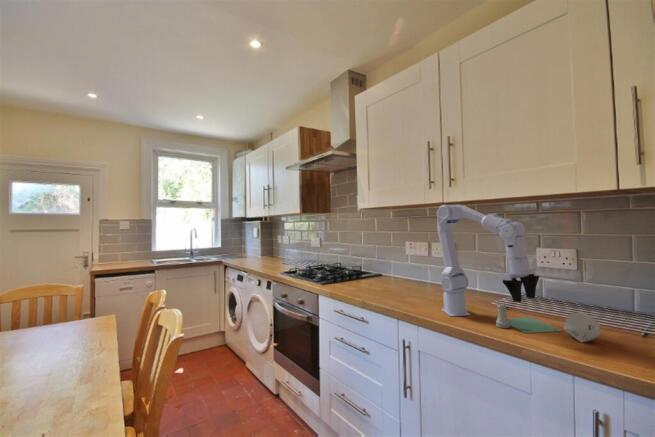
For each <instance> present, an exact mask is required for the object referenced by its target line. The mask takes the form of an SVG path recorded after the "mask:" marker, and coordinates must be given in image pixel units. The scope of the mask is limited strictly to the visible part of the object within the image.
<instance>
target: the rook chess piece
mask: <svg viewBox="0 0 655 437" xmlns="http://www.w3.org/2000/svg"><path fill="white" fill-rule="evenodd" d="M496 307H497V313H498V314H497V318H496V320H495V326H496V327H497V328H499V329H510V327H511V325H509V324H510V322H509V321H508V319H509V318H508V317H507V316H508V315H507V308H508V305H507V304H506V303H505V302H503V303H502V302H497V305H496Z"/></svg>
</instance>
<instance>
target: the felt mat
mask: <svg viewBox="0 0 655 437" xmlns="http://www.w3.org/2000/svg"><path fill="white" fill-rule="evenodd" d="M507 319H508V321H509V322H510V324H509V325H510V327H513V328H514V329H516V330H517V331H520V332H522V333H524V334H536V333H541V334H542V333H555V332H560V333H561V332H562V330H561V329H559V328H557V327H554V326H552V325H549V324H548V323H545V322H543V321H541V320H539V319H536V318H534V317H517V318H507Z"/></svg>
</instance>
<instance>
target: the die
mask: <svg viewBox="0 0 655 437" xmlns="http://www.w3.org/2000/svg"><path fill="white" fill-rule="evenodd" d="M600 328H601V324H600V323H599V322H598V321H597V320H596V319H595V318H593V317H592V316H590V315H588V314H586V313H585V312H583V311H580V312H576V313H575V312H573V313H569V314H568V315H567V317H566V318H565V320H564V326H563V330H564V331H565V332H566V333H568V334H569V335H571V337H573V338H574V339H576V340H577V341H578V342H580V343H586V342H590V341H595V340H596V339H598V337H599V336H600V331H601V329H600Z"/></svg>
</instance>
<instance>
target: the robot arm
mask: <svg viewBox="0 0 655 437" xmlns="http://www.w3.org/2000/svg"><path fill="white" fill-rule="evenodd" d="M435 214H436V217H437V221H436V222H437V223H436V228H437V234H438V240H439V244H440V248H441V254H442V261H443V263H444V269H443V270H442V272H441V273H440V275H441V276H440V277H441V279H440V284H441V288H442V290H444V292H443V294H442V296H443V298H442V299H443V308H441V310H442V311H443V312H444V313H446V314H447V315H448V316H450V317H465V316H466V317H467V316H471V313H469V312H468V311H467V305H466V289H467V288H468V286H469V278H468V277H467V275H466V273H465V270H464V269H463V268H462V267H461V266H460V264H459V259H458V254H457V250H456V243H455V238H454V235H453V234H454V233H453V228H454V226H455V225H456V224H457V223H459V222H460V221H461V220H463V219H464V218H465V219H468V220H470V221H474V222H476V223H479V224H481V226H482V227H483V229H484V230H487V231H489V232H492V233H494V234H496V235H499V236H500V238H501V239H502V240H503V244H504V246H505V251H506V257H507V263H508V264H507V265H508V270H509V272H506V273H503V279H502V284H504V286H505V287H506V288H507V290H508V292H509V294H510V296H511V299H512V301H513V302H515V303H522V286H523V288H524V293H525V296H526V298H527V299H535V298H536V289H537V285H538V282H539V280H540V275H537V273H536V268H530V263H529V258H528V254H527V253H528V252H527V247H526V240H525V236H526V235H527V228H526V226H525V225H524V224H523V223H522V222H520V221H513V222H512V221H511V219H509V218H503V217H501V216H499V215H498V213H496V212H495V213H489V214H483V213H482V212H479V211H477V210H474V209H472V208H470V207H468V206H467V205H462V204H459V203H458V204H442V205H440V206H439V207H438V209H437V211H436V212H435ZM518 279H519V280H518Z"/></svg>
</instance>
